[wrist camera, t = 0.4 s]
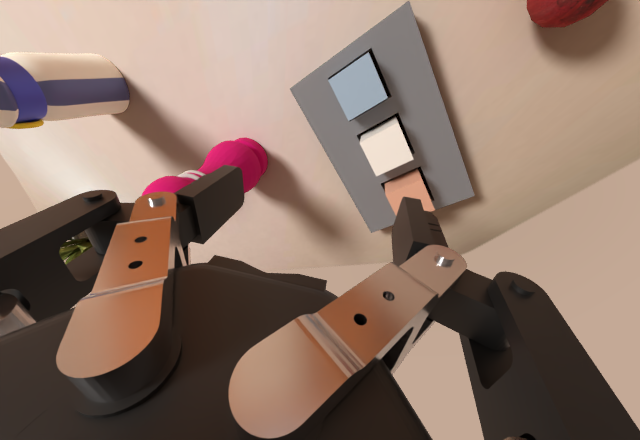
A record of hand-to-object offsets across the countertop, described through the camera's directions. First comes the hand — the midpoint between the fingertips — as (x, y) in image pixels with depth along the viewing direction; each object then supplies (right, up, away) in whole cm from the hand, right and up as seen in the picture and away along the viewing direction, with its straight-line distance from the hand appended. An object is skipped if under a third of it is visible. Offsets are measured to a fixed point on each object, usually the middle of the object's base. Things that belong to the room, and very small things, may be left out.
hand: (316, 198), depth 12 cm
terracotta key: (+12, +3, +20) cm, 24 cm away
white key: (+8, +9, +18) cm, 21 cm away
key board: (+9, +10, +20) cm, 23 cm away
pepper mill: (-11, +9, +25) cm, 29 cm away
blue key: (+5, +14, +15) cm, 21 cm away
